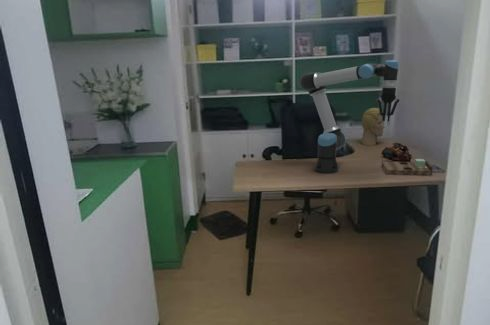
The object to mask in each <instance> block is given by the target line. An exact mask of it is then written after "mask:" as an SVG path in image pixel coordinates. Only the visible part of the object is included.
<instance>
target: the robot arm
mask: <svg viewBox="0 0 490 325" xmlns="http://www.w3.org/2000/svg"><path fill="white" fill-rule="evenodd" d="M384 61H385V62H384V63H371V62H370V63H365V64H362V65H359V66H353V67H348V68H343V69H341V68H340V69H338V70H332V71H327V72H322V73H321V72H319V71H312V72H307V73H304V74H303V75H302V76H301V77H300V79H299V86H300V88H301V89H302V90H303V91H306V92H308V93H309V94H308V95H309V96H311V97H312V99H313V102H314V105H315V107H316V111H317V113H318V116H319V119H320V122H321V124H322V127H323V133H321V134H320V135H319V136H318V138H317V159H316V162H315V165H314V170H315V172H318V173H321V174H334V173H337V172H338V171H339V164H338V161H337V151H338V150H340V149H342V148H343V147H344V146H345V144H346V142H347V136H346V135H345V133H344V132H343V131H342V130H341V128H340V126H337V122H336V120H335V117H334V114H333V112H332V109H331V106H330V102H329V100H328V96H327V94H326V91H327V87H326V86H328V85H334V84H335V85H336V84H341V83H346V82H350V81H351V82H352V81H357V80H363V79H369V78H374V77H376V78H377V77H378V78H379V77H381V78H382V77H383V80H382V89H381V95H380V97H379V98H376V101H377V104H378V108H379V112H380V114H381V115H383V116H382V121H383V124H382V125H383V126H384V128H385V127H386V128H387V127H388V122H390V118H391V116H393V115H394V113H395V110H396V108H397V105H398V103H399V102H400V99H398V98H397V95H396V94H397V93H396V90H397V88H396V87H397V81H398V75H399V73H398V72H399V61H398V60H395V59H394V60H392V59H391V60H389V59H388V60H384ZM382 103H383V107H382ZM392 103H393V105H392ZM382 111H383V113H382Z"/></svg>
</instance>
